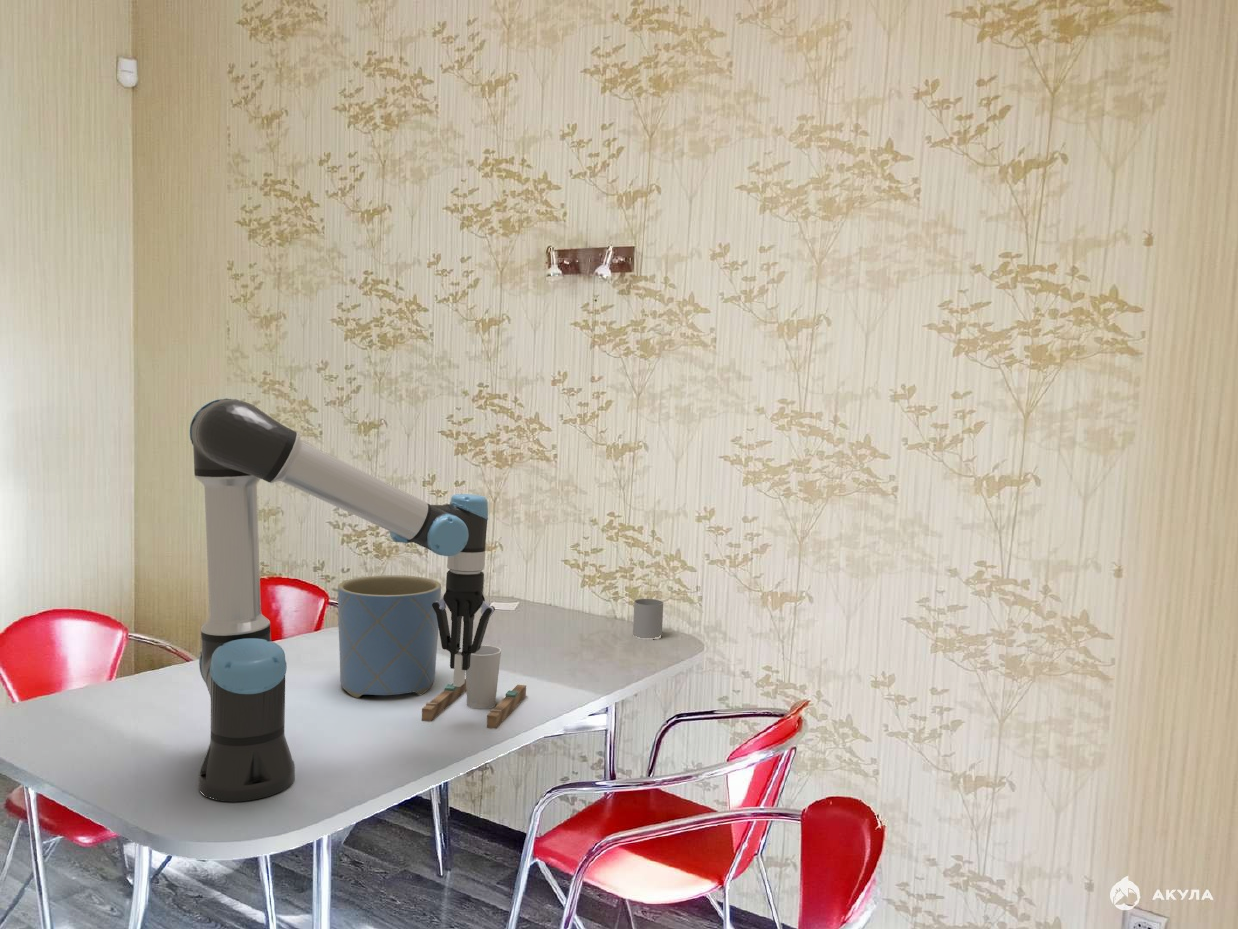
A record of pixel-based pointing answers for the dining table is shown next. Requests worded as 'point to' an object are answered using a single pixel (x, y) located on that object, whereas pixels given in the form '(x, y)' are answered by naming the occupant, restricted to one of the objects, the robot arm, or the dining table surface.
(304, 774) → the dining table surface
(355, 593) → the planter
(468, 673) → the cup
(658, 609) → the cup
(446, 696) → the channel
